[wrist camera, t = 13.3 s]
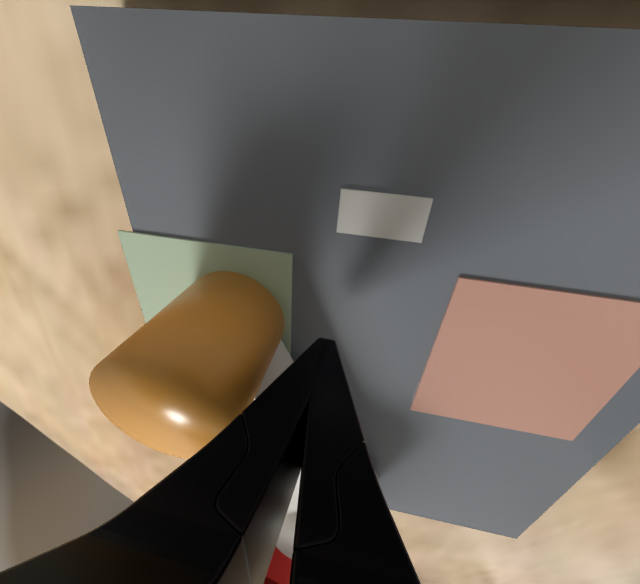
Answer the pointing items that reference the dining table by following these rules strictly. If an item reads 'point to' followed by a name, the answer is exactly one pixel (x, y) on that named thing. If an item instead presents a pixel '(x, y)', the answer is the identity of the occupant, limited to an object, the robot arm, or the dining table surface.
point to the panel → (403, 224)
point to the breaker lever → (197, 370)
